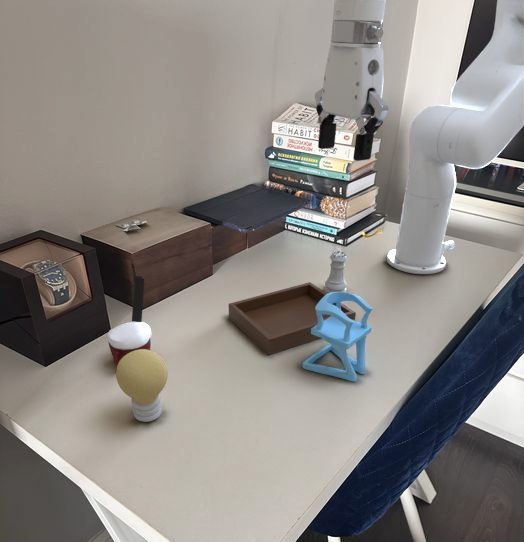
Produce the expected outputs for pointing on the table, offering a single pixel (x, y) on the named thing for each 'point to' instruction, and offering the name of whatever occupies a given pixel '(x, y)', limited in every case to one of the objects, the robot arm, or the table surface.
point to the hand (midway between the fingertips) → (343, 153)
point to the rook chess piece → (336, 273)
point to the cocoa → (131, 328)
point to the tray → (281, 317)
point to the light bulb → (143, 382)
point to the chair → (340, 335)
